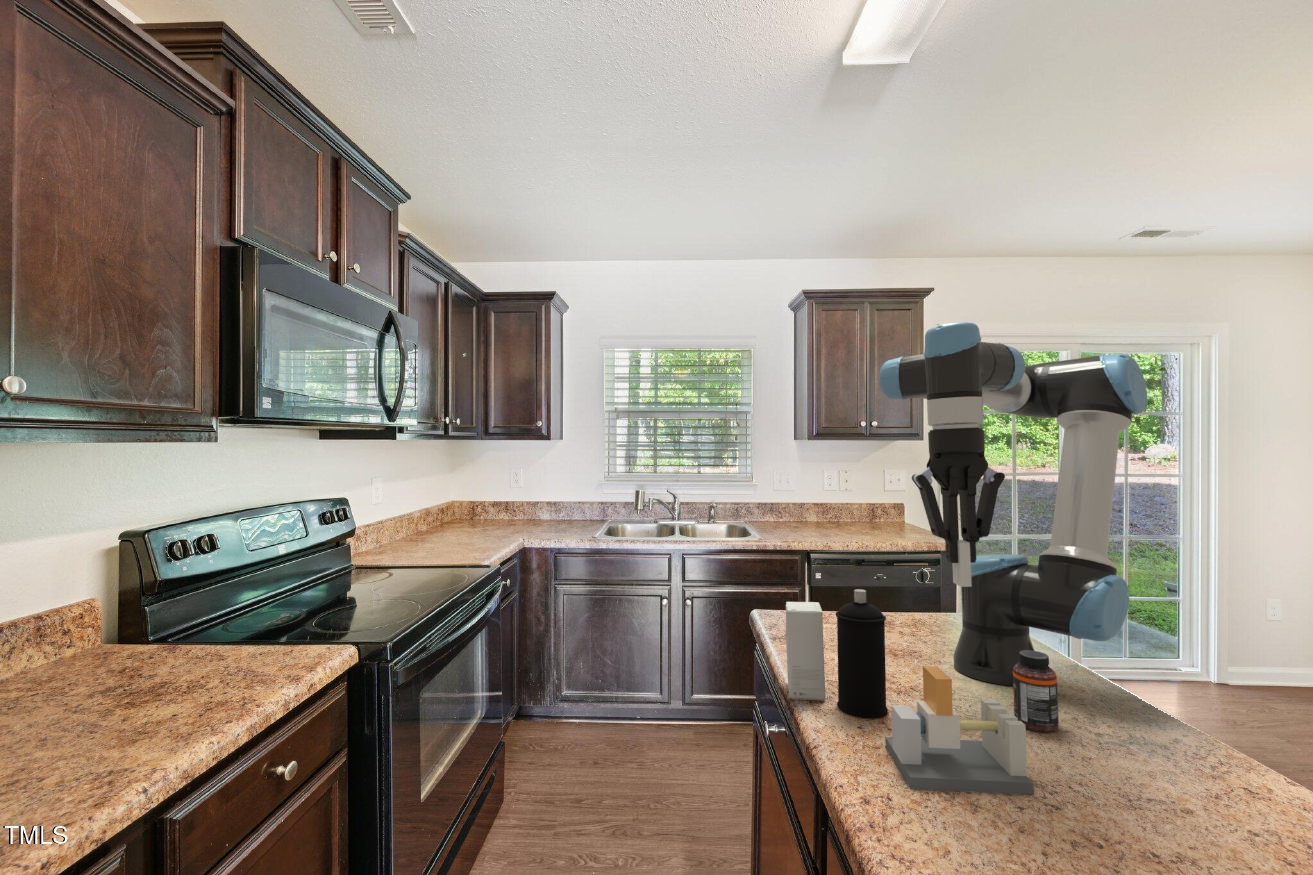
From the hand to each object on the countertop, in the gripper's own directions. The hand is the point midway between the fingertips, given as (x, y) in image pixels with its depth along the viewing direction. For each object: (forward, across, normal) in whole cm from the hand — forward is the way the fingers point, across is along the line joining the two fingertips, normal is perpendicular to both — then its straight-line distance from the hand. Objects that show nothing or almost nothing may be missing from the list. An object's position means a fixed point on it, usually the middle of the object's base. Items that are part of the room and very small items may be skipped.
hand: (962, 584), depth 87 cm
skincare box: (+24, +21, -19) cm, 37 cm away
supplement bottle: (+25, -14, -7) cm, 29 cm away
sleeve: (+20, +7, +7) cm, 22 cm away
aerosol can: (+24, +12, -12) cm, 29 cm away
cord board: (+23, +5, +7) cm, 25 cm away
